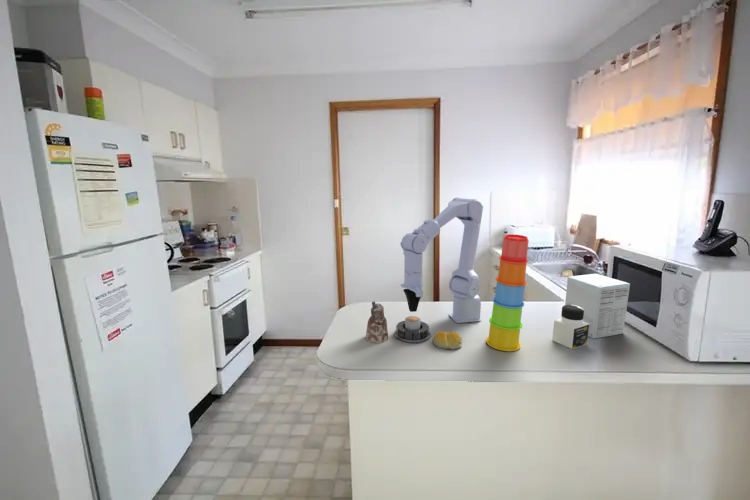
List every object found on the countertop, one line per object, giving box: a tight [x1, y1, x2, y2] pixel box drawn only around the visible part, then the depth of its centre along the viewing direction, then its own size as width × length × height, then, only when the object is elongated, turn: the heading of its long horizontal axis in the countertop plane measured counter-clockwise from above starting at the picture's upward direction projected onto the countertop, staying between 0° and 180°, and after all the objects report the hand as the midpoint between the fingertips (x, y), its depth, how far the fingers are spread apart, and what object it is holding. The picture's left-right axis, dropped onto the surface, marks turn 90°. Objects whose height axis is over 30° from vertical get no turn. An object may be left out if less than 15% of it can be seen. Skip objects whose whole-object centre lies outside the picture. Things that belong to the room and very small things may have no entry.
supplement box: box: [564, 273, 631, 339], centre depth 125 cm, size 13×13×18 cm
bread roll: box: [432, 330, 463, 350], centre depth 116 cm, size 8×9×4 cm
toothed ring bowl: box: [393, 320, 431, 344], centre depth 123 cm, size 12×12×3 cm
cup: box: [404, 315, 421, 331], centre depth 122 cm, size 5×5×5 cm
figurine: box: [365, 301, 389, 344], centre depth 120 cm, size 7×7×12 cm
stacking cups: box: [485, 233, 529, 352], centre depth 113 cm, size 10×10×35 cm
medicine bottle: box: [552, 304, 589, 350], centre depth 116 cm, size 7×7×12 cm
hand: (412, 310), depth 121 cm, fingers closed
